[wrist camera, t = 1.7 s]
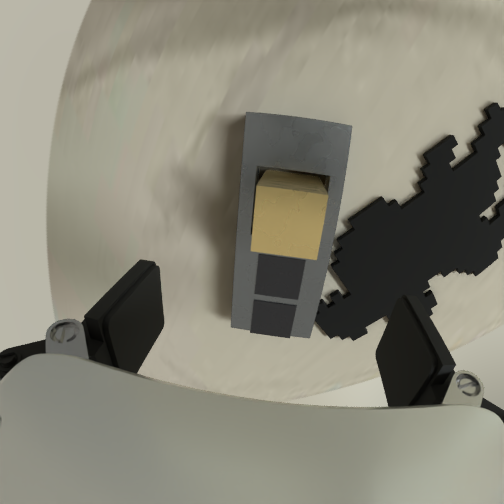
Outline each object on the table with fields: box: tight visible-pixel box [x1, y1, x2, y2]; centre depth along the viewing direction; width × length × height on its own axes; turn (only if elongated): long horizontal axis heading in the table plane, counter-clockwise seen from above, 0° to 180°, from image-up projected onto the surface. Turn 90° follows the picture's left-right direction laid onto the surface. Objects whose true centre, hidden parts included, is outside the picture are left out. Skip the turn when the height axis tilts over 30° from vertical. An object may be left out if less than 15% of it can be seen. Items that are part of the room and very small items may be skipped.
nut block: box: [251, 170, 328, 260], centre depth 21 cm, size 4×4×7 cm
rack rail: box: [231, 112, 352, 338], centre depth 25 cm, size 20×8×3 cm, turn 175°
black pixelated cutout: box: [315, 103, 504, 341], centre depth 24 cm, size 16×1×30 cm
